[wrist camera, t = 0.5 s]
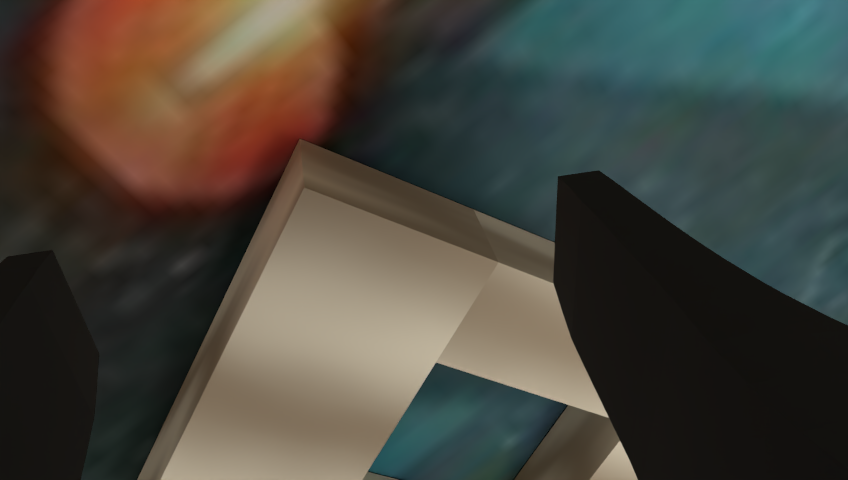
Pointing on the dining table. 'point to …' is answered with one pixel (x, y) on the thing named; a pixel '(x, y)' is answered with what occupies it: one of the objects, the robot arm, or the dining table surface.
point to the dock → (373, 334)
